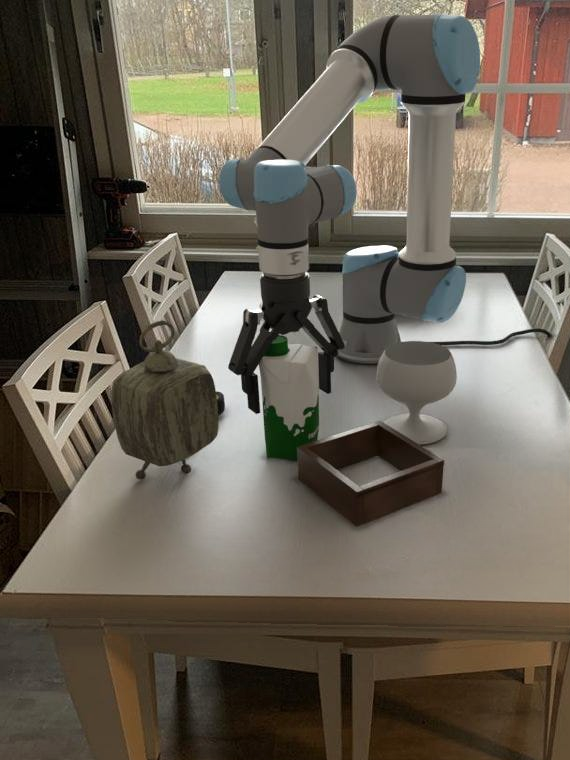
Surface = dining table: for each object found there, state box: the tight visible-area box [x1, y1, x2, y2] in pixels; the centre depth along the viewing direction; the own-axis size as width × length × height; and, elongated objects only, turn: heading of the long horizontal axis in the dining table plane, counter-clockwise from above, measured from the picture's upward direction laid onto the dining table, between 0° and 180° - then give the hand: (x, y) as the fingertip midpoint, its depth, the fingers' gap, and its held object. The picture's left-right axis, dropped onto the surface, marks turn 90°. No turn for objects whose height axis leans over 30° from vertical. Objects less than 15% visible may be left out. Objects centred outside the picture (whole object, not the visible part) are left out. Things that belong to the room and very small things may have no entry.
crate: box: [297, 420, 445, 528], centre depth 114 cm, size 16×16×6 cm
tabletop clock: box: [110, 320, 219, 481], centre depth 113 cm, size 14×9×25 cm, turn 149°
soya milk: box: [258, 334, 320, 462], centre depth 121 cm, size 9×9×20 cm
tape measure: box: [216, 391, 226, 417], centre depth 137 cm, size 7×7×4 cm
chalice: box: [376, 340, 458, 445], centre depth 129 cm, size 14×14×15 cm
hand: (290, 400), depth 121 cm, fingers open, 13 cm apart
